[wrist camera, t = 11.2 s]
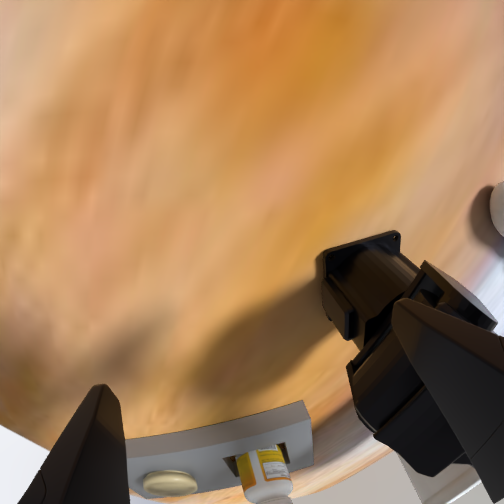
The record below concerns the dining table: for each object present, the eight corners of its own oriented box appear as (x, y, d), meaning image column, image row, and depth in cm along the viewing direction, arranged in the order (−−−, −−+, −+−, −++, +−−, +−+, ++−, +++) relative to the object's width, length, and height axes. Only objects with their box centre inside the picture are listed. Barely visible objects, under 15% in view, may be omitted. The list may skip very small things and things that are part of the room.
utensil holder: (373, 425, 38) (425, 520, 23) (353, 380, 31) (429, 515, 16) (455, 370, 38) (518, 451, 23) (460, 308, 30) (555, 411, 15)
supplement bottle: (241, 457, 34) (259, 522, 26) (226, 442, 32) (243, 516, 23) (281, 444, 35) (304, 509, 26) (270, 428, 32) (295, 501, 23)
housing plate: (302, 399, 30) (315, 430, 27) (308, 450, 37) (317, 473, 34) (93, 442, 28) (91, 471, 24) (145, 484, 35) (147, 507, 31)
